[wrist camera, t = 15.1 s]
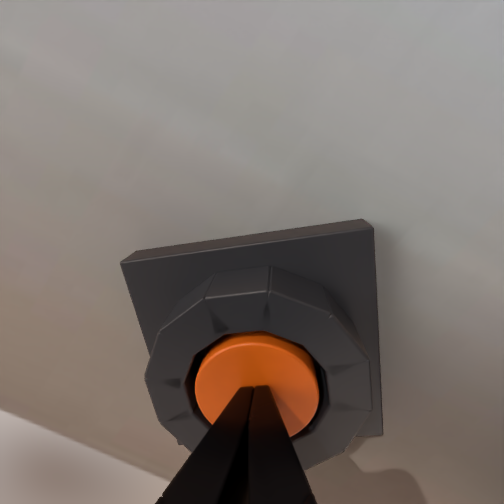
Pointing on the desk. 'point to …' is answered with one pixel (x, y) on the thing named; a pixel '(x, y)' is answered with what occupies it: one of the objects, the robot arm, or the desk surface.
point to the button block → (266, 322)
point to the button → (259, 375)
